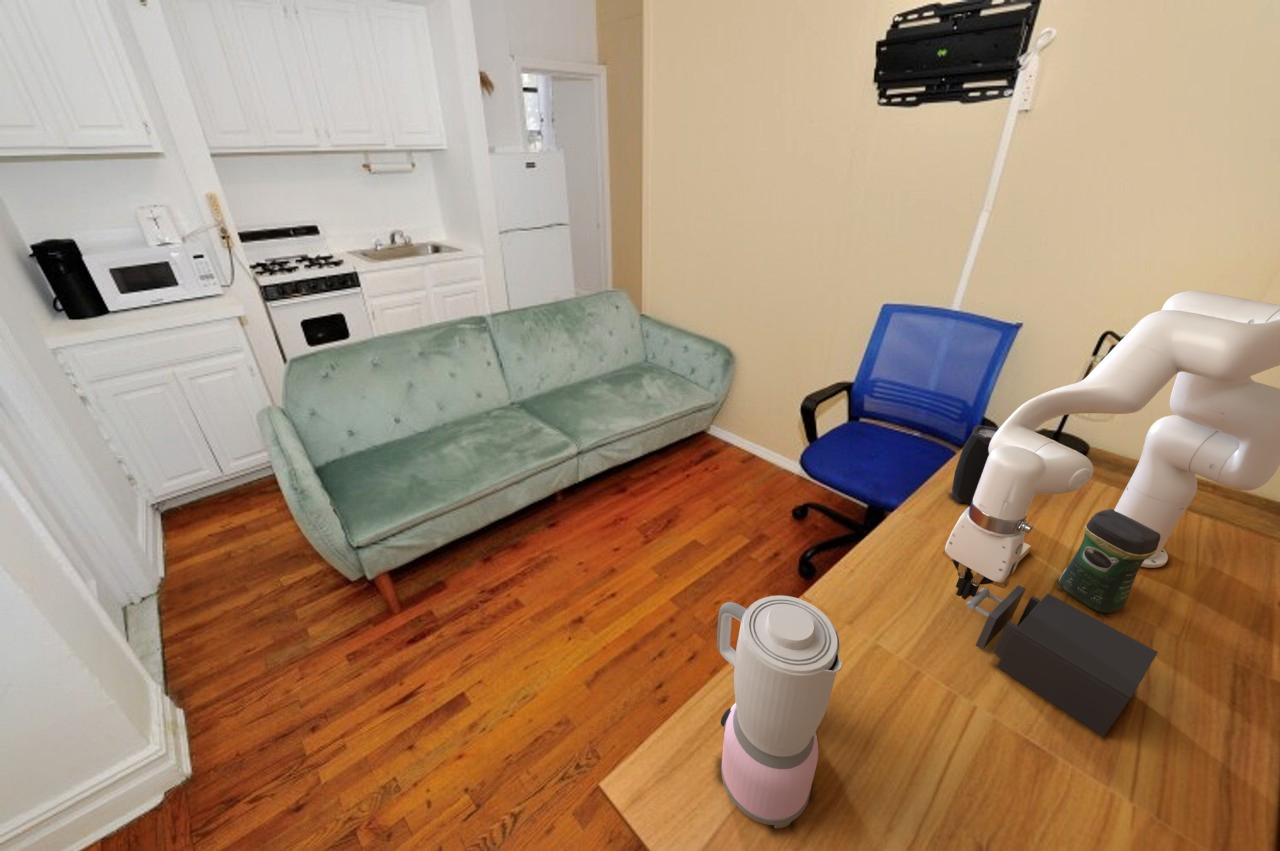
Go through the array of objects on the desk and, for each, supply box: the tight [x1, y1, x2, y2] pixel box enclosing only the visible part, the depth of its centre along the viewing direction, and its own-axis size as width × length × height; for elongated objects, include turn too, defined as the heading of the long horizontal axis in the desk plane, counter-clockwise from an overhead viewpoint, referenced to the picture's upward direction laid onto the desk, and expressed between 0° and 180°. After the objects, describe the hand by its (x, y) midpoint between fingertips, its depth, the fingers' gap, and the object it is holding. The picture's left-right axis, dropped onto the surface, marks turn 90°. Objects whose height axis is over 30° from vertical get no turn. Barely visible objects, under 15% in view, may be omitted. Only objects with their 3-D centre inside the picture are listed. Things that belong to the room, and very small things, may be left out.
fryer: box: [997, 593, 1159, 738], centre depth 82 cm, size 15×13×10 cm
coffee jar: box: [1058, 508, 1161, 614], centre depth 95 cm, size 10×8×19 cm
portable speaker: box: [951, 424, 1000, 506], centre depth 123 cm, size 9×9×20 cm
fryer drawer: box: [965, 584, 1042, 659], centre depth 86 cm, size 18×11×8 cm, turn 35°
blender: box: [716, 594, 843, 829], centre depth 65 cm, size 16×12×32 cm
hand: (964, 593), depth 94 cm, fingers closed
